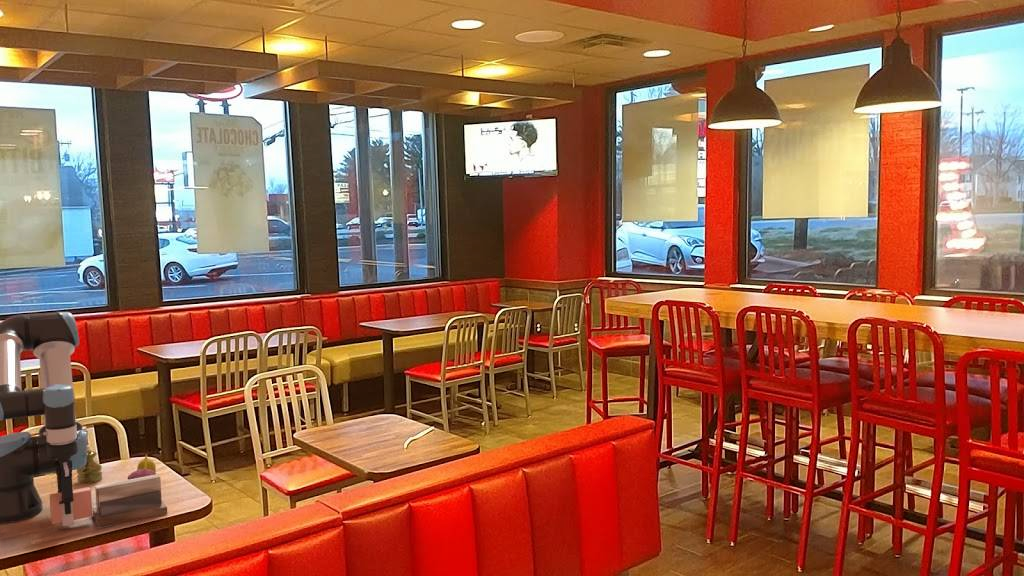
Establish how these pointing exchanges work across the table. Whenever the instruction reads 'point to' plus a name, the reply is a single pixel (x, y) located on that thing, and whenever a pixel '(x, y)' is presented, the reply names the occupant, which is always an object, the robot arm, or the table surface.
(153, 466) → the lemon
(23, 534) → the table surface
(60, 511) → the stub
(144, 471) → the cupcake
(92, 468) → the christmas tree figurine
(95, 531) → the table surface
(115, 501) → the ticket holder
